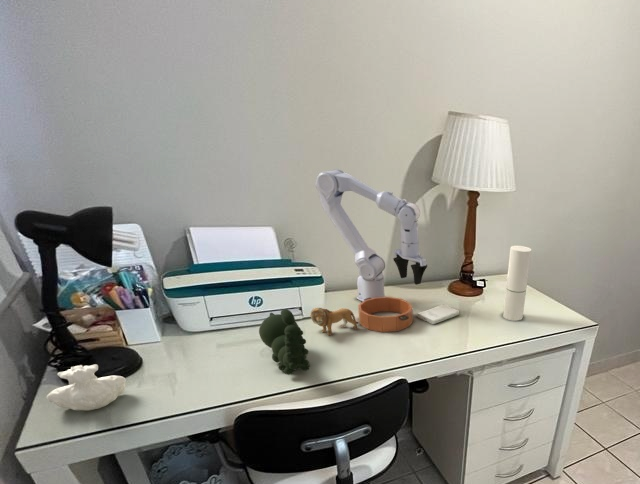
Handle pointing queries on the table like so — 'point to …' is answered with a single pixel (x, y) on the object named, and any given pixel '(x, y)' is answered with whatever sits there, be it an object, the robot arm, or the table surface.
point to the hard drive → (438, 314)
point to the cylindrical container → (516, 282)
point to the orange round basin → (386, 321)
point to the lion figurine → (332, 318)
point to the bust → (86, 389)
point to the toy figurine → (285, 341)
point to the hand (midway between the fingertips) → (410, 280)
